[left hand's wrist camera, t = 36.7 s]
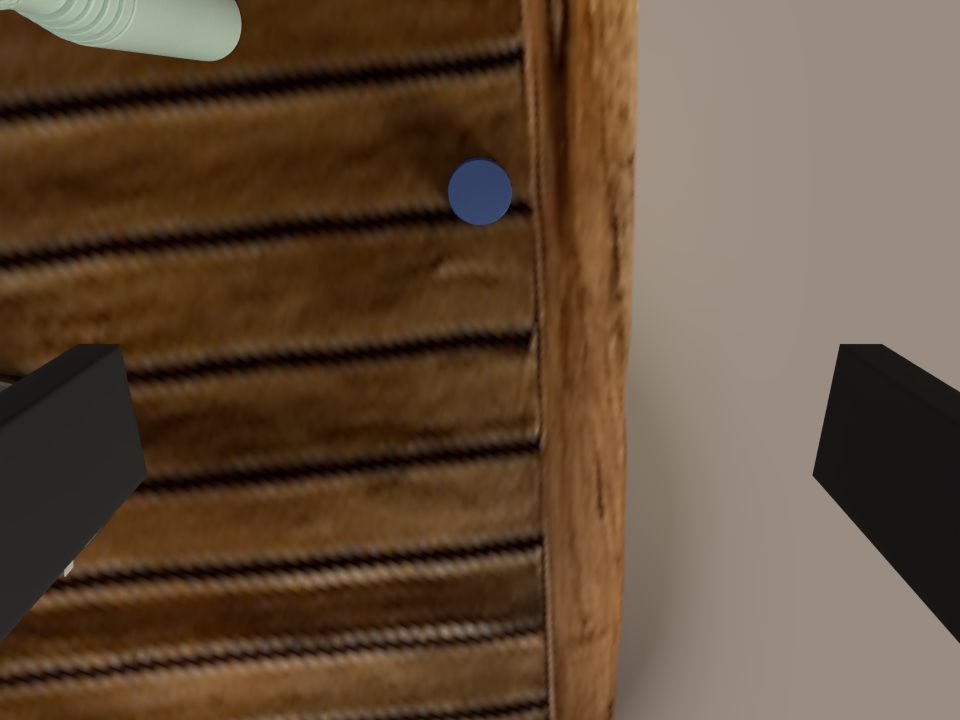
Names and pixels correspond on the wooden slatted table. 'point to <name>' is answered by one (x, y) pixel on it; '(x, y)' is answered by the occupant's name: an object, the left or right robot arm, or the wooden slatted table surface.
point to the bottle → (141, 24)
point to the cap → (479, 191)
